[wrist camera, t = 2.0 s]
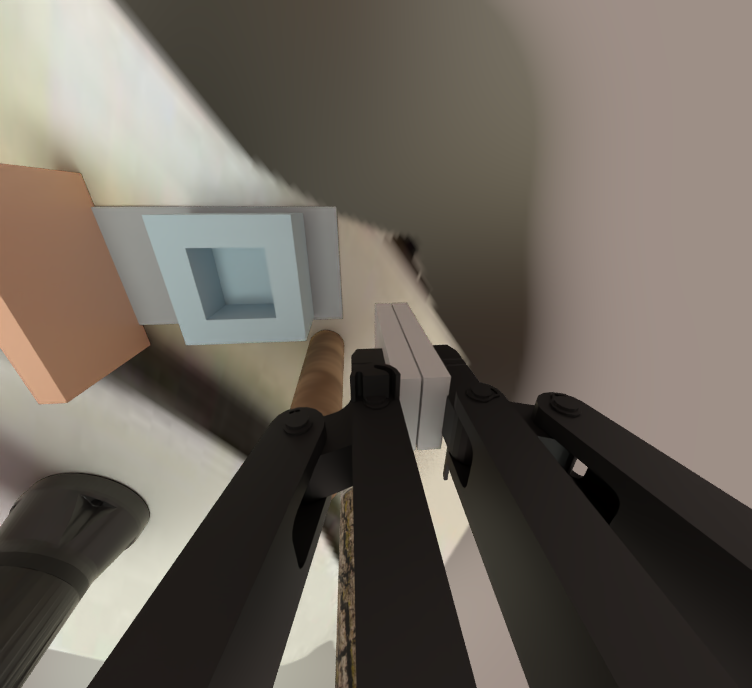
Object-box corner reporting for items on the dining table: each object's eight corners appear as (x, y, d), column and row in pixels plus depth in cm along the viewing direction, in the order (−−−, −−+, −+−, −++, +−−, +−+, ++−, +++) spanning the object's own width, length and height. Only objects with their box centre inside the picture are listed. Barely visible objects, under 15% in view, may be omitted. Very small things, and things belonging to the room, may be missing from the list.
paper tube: (332, 463, 41) (311, 775, 18) (369, 440, 39) (394, 748, 17) (360, 485, 43) (372, 781, 21) (396, 465, 42) (448, 758, 20)
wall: (131, 345, 30) (38, 404, 21) (54, 173, 23) (-134, 151, 14) (150, 344, 30) (67, 402, 21) (80, 173, 23) (-89, 152, 14)
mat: (121, 324, 29) (118, 325, 29) (69, 206, 24) (65, 206, 24) (342, 317, 31) (342, 318, 30) (336, 206, 26) (336, 206, 25)
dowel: (311, 361, 33) (274, 510, 17) (307, 330, 31) (262, 464, 15) (345, 360, 33) (341, 504, 17) (343, 329, 31) (336, 459, 15)
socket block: (216, 319, 29) (186, 345, 23) (187, 213, 24) (141, 215, 19) (314, 316, 30) (306, 340, 24) (302, 212, 25) (290, 214, 20)
